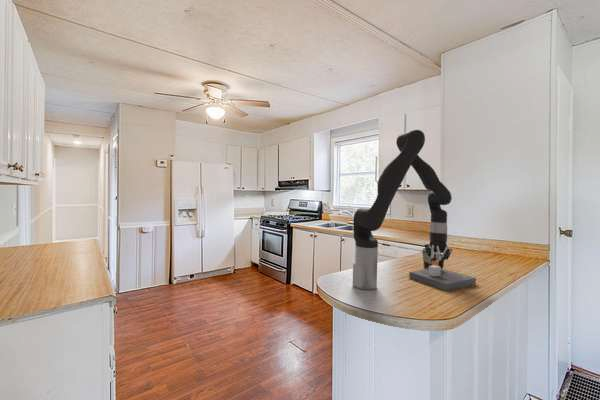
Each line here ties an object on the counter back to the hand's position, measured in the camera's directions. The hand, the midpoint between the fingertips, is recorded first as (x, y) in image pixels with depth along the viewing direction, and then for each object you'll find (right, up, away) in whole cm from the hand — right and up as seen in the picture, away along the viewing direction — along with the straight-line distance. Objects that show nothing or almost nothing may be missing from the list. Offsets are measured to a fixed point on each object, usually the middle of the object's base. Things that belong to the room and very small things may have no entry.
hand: (437, 266), depth 134 cm
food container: (+5, -5, +18) cm, 19 cm away
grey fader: (-6, -1, -10) cm, 12 cm away
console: (-2, -5, -7) cm, 9 cm away
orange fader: (0, -1, 0) cm, 1 cm away
